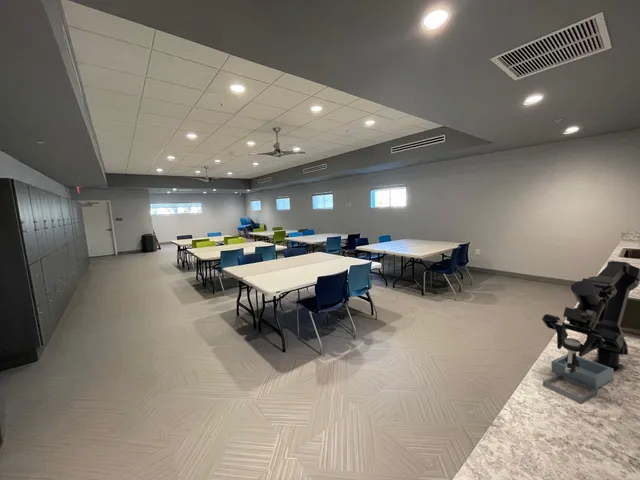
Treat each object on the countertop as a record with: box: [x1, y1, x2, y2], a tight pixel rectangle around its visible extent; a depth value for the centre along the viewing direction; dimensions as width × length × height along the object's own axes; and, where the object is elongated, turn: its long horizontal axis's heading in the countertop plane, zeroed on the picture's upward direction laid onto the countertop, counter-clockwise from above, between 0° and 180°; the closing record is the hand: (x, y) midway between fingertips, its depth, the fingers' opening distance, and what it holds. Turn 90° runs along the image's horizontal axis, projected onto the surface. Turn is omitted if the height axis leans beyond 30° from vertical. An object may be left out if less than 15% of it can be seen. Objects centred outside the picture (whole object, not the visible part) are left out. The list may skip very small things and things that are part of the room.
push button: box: [561, 337, 584, 373], centre depth 87 cm, size 7×5×10 cm
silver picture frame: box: [542, 373, 599, 405], centre depth 87 cm, size 10×10×2 cm
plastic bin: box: [550, 353, 615, 390], centre depth 94 cm, size 12×12×4 cm
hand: (568, 352), depth 86 cm, fingers closed on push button, 5 cm apart
